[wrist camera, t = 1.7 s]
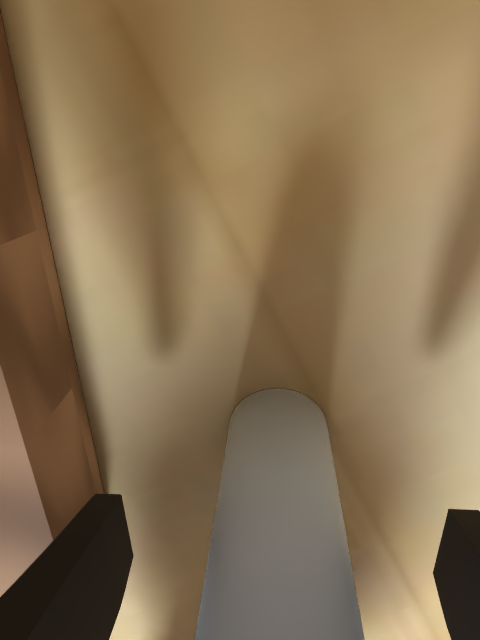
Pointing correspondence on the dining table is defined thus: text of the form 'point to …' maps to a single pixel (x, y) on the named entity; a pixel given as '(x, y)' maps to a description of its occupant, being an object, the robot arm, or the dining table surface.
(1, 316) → the socket block
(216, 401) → the dining table surface
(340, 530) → the pin
